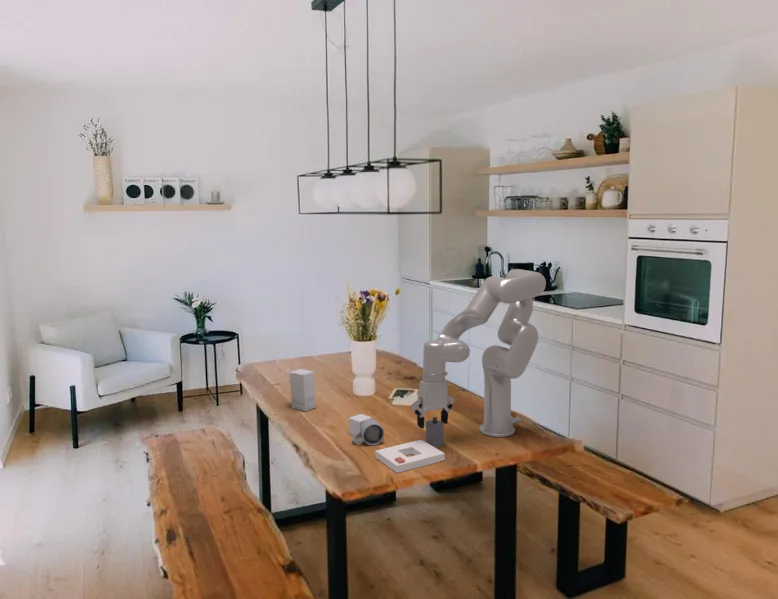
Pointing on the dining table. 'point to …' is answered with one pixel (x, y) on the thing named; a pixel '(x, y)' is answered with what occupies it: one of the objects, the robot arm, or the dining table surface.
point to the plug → (435, 432)
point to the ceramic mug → (369, 433)
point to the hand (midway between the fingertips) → (432, 425)
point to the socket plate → (400, 462)
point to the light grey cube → (356, 423)
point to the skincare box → (303, 389)
